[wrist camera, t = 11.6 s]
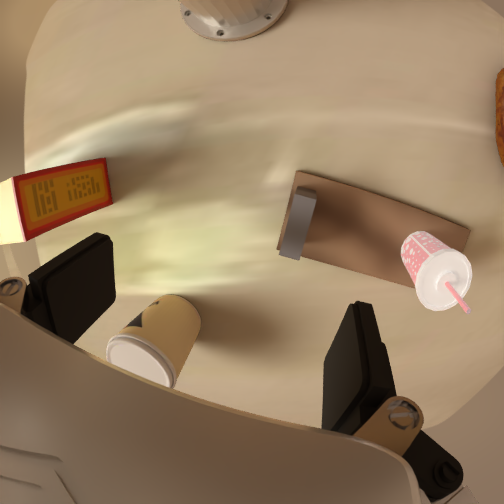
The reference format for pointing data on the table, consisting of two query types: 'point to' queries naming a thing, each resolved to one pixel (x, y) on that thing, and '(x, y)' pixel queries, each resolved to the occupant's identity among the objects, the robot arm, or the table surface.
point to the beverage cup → (436, 271)
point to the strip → (357, 228)
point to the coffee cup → (157, 340)
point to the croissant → (500, 114)
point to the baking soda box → (51, 198)
